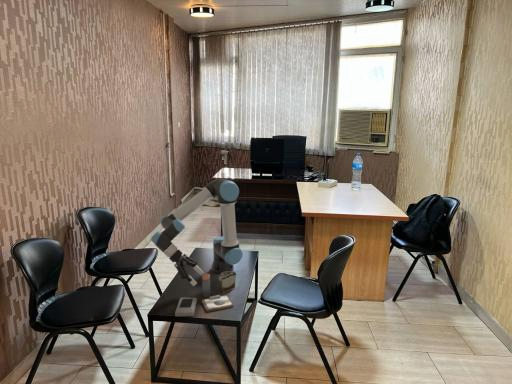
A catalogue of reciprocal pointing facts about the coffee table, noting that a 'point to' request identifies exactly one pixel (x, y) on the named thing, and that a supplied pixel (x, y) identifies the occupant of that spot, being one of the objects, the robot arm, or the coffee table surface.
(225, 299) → the clipboard
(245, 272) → the coffee table surface
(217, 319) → the coffee table surface
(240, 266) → the coffee table surface
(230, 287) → the food container
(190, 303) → the grey framed panel
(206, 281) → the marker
